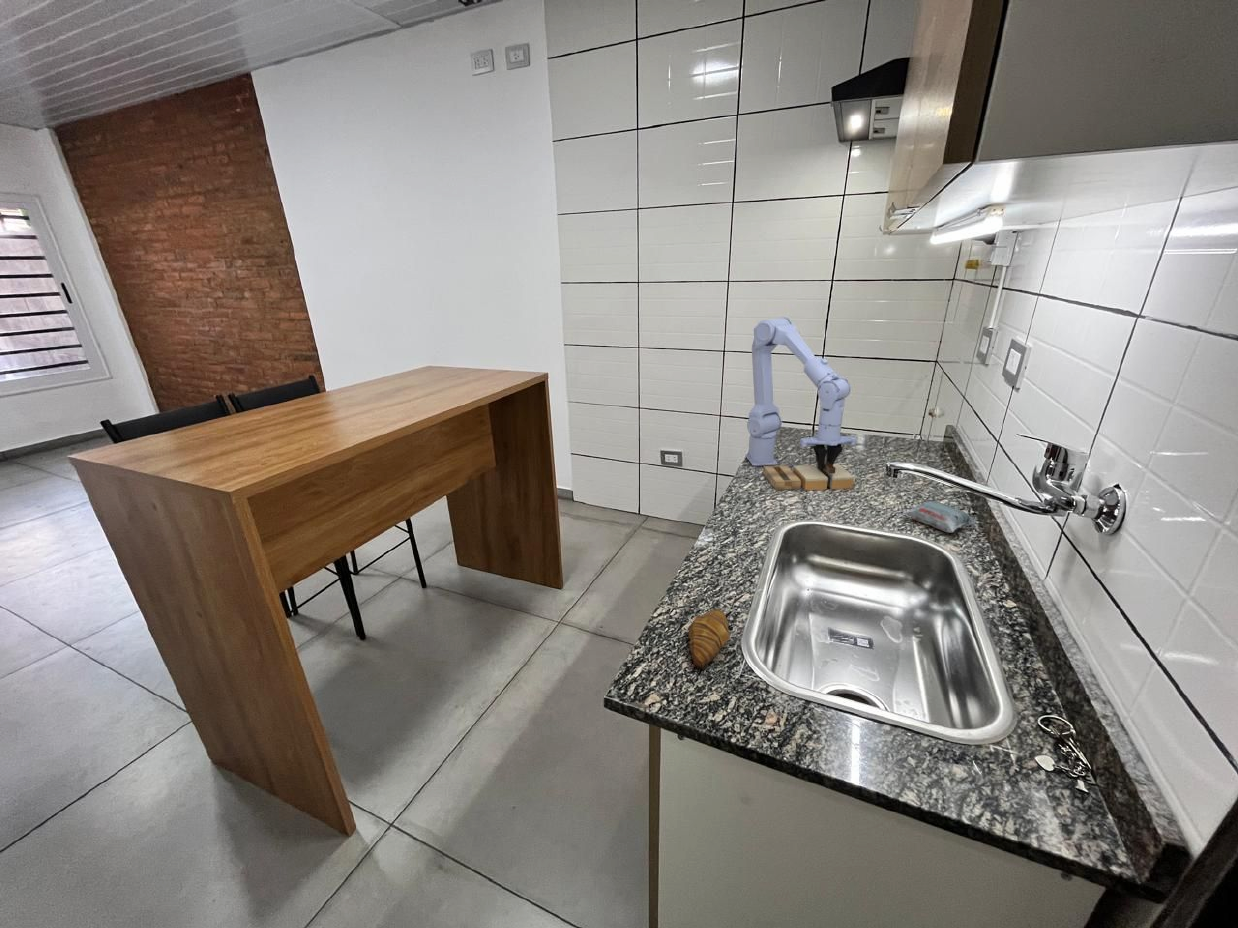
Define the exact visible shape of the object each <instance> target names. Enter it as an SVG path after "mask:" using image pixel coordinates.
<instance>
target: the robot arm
mask: <svg viewBox="0 0 1238 928" xmlns="http://www.w3.org/2000/svg"><path fill="white" fill-rule="evenodd" d="M779 345H780V346H785V347H787V349H788V350H789V351H790V352H791V353H792V354H793V355H794V356H795V357H796V358H797V359H798V360H799V361H800V362H801V363H802V364H803V372H804V374H805V375H806V376H807V377H808V379H809V380H810V381H811V382H812V383H813V385H814V386H815V387H816V389H817V396H818V398H819V400H820V404H819V405H820V408H819V410H820V411H819V419H818V427H817V435H815V436H809V437H803V438H800V442H799V445H800V447H802V448H807V447H812V449H813V451H814V454H815V459H816V458H817V462H816V464H817V463H818V469H819V470H820V471H823V470H824V463H825V459H826V460H827V461H828V462H829V463H831V464H832V465H833V464H835V462H836V460H837V459H838V457H839V456H840V455H841V453H842V452H843V450H844V447H843V446H845V445H850V446H856V442H857V438H856V437H854V436H851V435H850V436H846V435H845V436H844V435H841V433H842V424H843V416H844V410H845V409H844V408H845V401H846V398H847V397H849V395H850V394H851V390H852V389H851V388H852V387H851V384H850V382H849V381H848V379H847V378H845V377H842V376H840V375H839V374H838V373H836V372H835V371H834V370H833V369H832V368H831V366H830V365H829V364H828V363H829V361H828V360H827V359H826V358H823V357H821V356H815V354H814V353H813V351H812V350H811V349H810V347H809V346H808V345H807V343H806V342H805V341H804V339H803V337H802V336H801V335H800V333H798V328H797V326H796V325H795V324H794V323H793V321H792V320H791V319H790V318H789V317H784V316H783V317H780V318H774V319H772V318H771V319H762V320H761V321H759V322H758V323H757V324H756V326H754V328H753V341H752V344H751V359H752V360H751V361H752V374H753V375H752V378H753V397H754V399H753V400H754V406H753V407H752V408H751V410H749V412H748V420H747V423H746V427H747V431H748V433H749V435H750V436H749V437H748V438H749V439H748V452H747V453H745V455H744V456H745V457H746V459H747V460H748V462H749V463H750V464H751V466H752V467H753V466H754V467H755V466H757V467H758V466H760V467H761V466H776V465H778V464H779V463H778V462H777V461H776V459H775V447H776V437H777V434H778V431H779V430H780V429H781V428H782V425H783V420H782V417H781V414H780V410H779V409H780V408H779V407H778V406H777V405H775V403H774V390H773V389H774V388H773V367H772V366H773V365H772V352H773V350H774V349H775V348H777V346H779ZM778 466H779V465H778Z"/></svg>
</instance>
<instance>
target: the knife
mask: <svg viewBox="0 0 1238 928" xmlns="http://www.w3.org/2000/svg"><path fill="white" fill-rule="evenodd" d="M826 459H827V458H825V463H824V470H823V471H821V472H822V473H823V474H824V475H825V476H826V477H827V478H828V482H827V485H828V486H829V487H831V483H832V475H833V473H835V469H836V468H835V467H834V466H833V465H832V464H831V463H829V462H828V461H827V460H826ZM815 462H816V467H817V468H818V463H817V458H816V457H815ZM828 486H827V487H828ZM829 487H828V488H829Z"/></svg>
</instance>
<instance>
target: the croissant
mask: <svg viewBox="0 0 1238 928" xmlns="http://www.w3.org/2000/svg"><path fill="white" fill-rule="evenodd" d="M729 626H730V623H729V621H728V619H727V617H726V613H725V612H724V611H723V610H722V609H710V610H709V611H707V612H705V613H703V614H698V615H697V616H696V617H695V619H694V620H693V621H692V622H691V624H690V625H689V626H688V638H689V642H688V647H689V651H690V655H691V659H692V662H693V666H694V668H697V669H701V670H702V669H704V668H705V667H707V666H708V665H709V664H710V663H711V662H712V661H713V660H714V659H715V658H716V657H717V655H718V654H719V652H720V650H722V648H723V647H724V646H725V645H726V644H727V642H728V641H729V639H730V638H731V637H730V629H729Z"/></svg>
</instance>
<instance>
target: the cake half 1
mask: <svg viewBox="0 0 1238 928" xmlns="http://www.w3.org/2000/svg"><path fill="white" fill-rule="evenodd" d="M792 471H793V473H794V474H795V475H796V476H797V477H798V478H799V479H800V480H801V488H802V489H803V490H804V491H825V490H827V489H828V488H827V487H828V486H827V482H828V478H827V477H826V476H825V475H824V474H823V473H822V472H821V471H820V470H819V469H818V468H817V465H815V464H800V465H798V464H797V465H793V468H792Z"/></svg>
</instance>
